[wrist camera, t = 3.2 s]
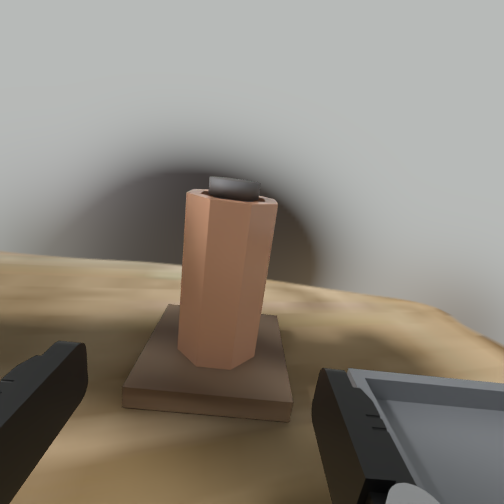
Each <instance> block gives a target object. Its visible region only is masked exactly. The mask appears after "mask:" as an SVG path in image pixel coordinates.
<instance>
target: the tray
mask: <svg viewBox="0 0 504 504" xmlns="http://www.w3.org/2000/svg"><path fill="white" fill-rule="evenodd" d="M347 375H348V378H349V380H350V382H351V384H352V386H353V387H356V388H361V389H362V390H363V391H364V392H365V394H366V395H367V396H368V397H369V398H370V399H371V400H372V401H373V403H374V405H375V406H376V408H377V410H378V412H379V414H380V418H381V419H382V420H383V422H384V424H385V426H386V428H387V432H389V433H390V435H391V437H392V439H393V441H394V443H395V445H396V447H397V449H398V451H399V453H400V454H401V456H402V458H403V460H404V462H405V464H406V466H407V468H408V470H409V472H410V474H411V476H412V478H413V479H414V481H415V483H416V485H417V487H419V488H421V489H423V490H425V491H426V492H427V493H429V494H430V495H431V496H433V497H434V498H435V499H436V500H437V501H438V502H439V503H440V504H504V384H502V383H492V382H482V381H472V380H462V379H452V378H442V377H432V376H422V375H412V374H402V373H392V372H382V371H372V370H362V369H352V368H348V371H347Z"/></svg>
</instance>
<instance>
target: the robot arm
mask: <svg viewBox="0 0 504 504" xmlns="http://www.w3.org/2000/svg"><path fill="white" fill-rule="evenodd" d="M87 384H88V373H87V354H86V346H85V344H84V343H77V342H67V341H58V342H56V343H55V344H53V345H52V346H51V347H50V348H49V349H48V350H47V351H46V352H45V353H44V354H43V355H42V356H38V355H36V356H34V357H32V358H30V359H28V360H27V361H25V362H23V363H21V364H19V365H17V366H16V367H15V368H14V369H13V370H11V371H10V372H9V373H8V374H7V375H6V376H5V377H3V378H2V379H1V382H0V504H9V503H10V502H11V501H12V499H13V498H14V496H15V495H16V493H17V492H18V491H19V489H20V488H21V486H22V485H23V483H24V482H25V481H26V479H27V478H28V476H29V475H30V473H31V472H32V471H33V469H34V468H35V466H36V465H37V464H38V462H39V461H40V459H41V458H42V456H43V455H44V454H45V452H46V451H47V449H48V448H49V446H50V445H51V444H52V442H53V441H54V439H55V438H56V436H57V435H58V434H59V432H60V431H61V429H62V428H63V426H64V425H65V424H66V422H67V421H68V419H69V418H70V416H71V415H72V414H73V412H74V411H75V409H76V408H77V407H78V405H79V404H80V402H81V401H82V399H83V397H84V395H85V392H86V389H87ZM312 422H313V427H314V431H315V435H316V439H317V443H318V447H319V451H320V455H321V459H322V463H323V467H324V471H325V475H326V479H327V483H328V488H329V492H330V496H331V500H332V504H440V503H439V502H438V501H437V500H436V499H435V498H434V497H433V496H431V495H430V494H429V493H427V492H426V491H425V490H423V489H421V488H419V487H417V485H416V483H415V481H414V479H413V478H412V476H411V474H410V472H409V470H408V468H407V466H406V464H405V462H404V460H403V458H402V456H401V454H400V453H399V451H398V449H397V447H396V445H395V443H394V441H393V439H392V437H391V435H390V433H389V432H387V428H386V426H385V424H384V422H383V420H382V419H381V418H380V414H379V412H378V410H377V408H376V406H375V405H374V403H373V401H372V400H371V399H370V398H369V397H368V396H367V395H366V394H365V392H364V391H363V390H362V389H361V388H356V387H353V386H352V384H351V382H350V380H349V378H348V375H347V373H346V372H345V371H344V370H337V369H327V368H322V369H321V370H320V373H319V377H318V381H317V386H316V390H315V394H314V398H313V402H312Z"/></svg>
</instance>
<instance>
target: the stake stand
mask: <svg viewBox="0 0 504 504" xmlns="http://www.w3.org/2000/svg"><path fill="white" fill-rule="evenodd" d="M259 191H260V183H258V182H253V181H248V180H242V179H234V178H225V177H210V179H209V192H208V194H210V195H213V197H215V198H220V199H228V200H235V201H243V202H254V201H256V200H258V199H259ZM179 314H180V305H172V304H168V306H167V308H166V310H165V312H164V313H163V315H162V317H161V319H160V321H159V322H158V324H157V326H156V328H155V329H154V331H153V333H152V335H151V337H150V338H149V340H148V342H147V344H146V345H145V347H144V349H143V351H142V353H141V354H140V356H139V358H138V360H137V361H136V363H135V365H134V367H133V369H132V370H131V372H130V374H129V376H128V377H127V379H126V381H125V383H124V385H123V386H122V407H125V408H136V409H147V410H158V411H170V412H181V413H192V414H204V415H215V416H226V417H237V418H249V419H260V420H271V421H283V422H289V420H290V415H291V411H292V406H293V399H292V393H291V388H290V383H289V377H288V372H287V367H286V362H285V356H284V351H283V346H282V340H281V335H280V330H279V325H278V319H277V316H274V315H265V314H261V317H260V323H259V329H258V336H257V342H256V349H255V355H254V357H252V358H251V359H249V360H247V361H245V362H244V363H242V364H240V365H238V366H237V367H235V368H233V369H231V370H227V369H216V368H206V367H196V366H195V365H194V364H193V363H192V362H191V361H190V360H189V359H188V358H187V357H186V356H185V355H184V354H182V353H181V352H180V351H179V350H178V349H177V348H178V331H179Z"/></svg>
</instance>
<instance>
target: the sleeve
mask: <svg viewBox="0 0 504 504" xmlns="http://www.w3.org/2000/svg"><path fill="white" fill-rule="evenodd" d="M208 192H209V190H207V189H206V190H205V189H193V190H191V191H189V192H187V196H186V213H185V214H186V215H185V230H184V247H183V264H182V280H181V297H180V314H179V331H178V348H177V349H178V350H179V351H180V352H181V353H182V354H184V355H185V356H186V357H187V358H188V359H189V360H190V361H191V362H192V363H193V364H194V365H195V366H196V367H206V368H216V369H227V370H231V369H233V368H235V367H237V366H238V365H240V364H242V363H244V362H245V361H247V360H249V359H251V358H252V357H254V355H255V349H256V342H257V336H258V329H259V323H260V317H261V310H262V304H263V297H264V291H265V284H266V278H267V272H268V265H269V258H270V252H271V246H272V239H273V233H274V226H275V220H276V213H277V207H278V204H277V202H276V201H275V200H274V199H270V198H266V197H262V196H259V199H258V200H256V201H254V202H243V201H235V200H228V199H220V198H215V197H213V195H210V194H208Z"/></svg>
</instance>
